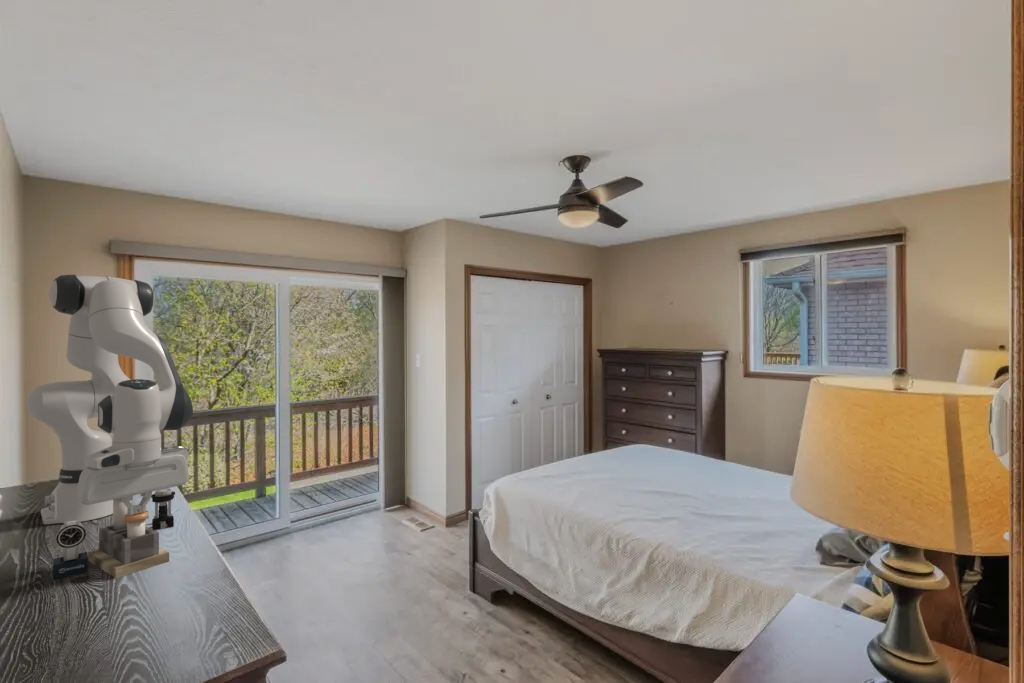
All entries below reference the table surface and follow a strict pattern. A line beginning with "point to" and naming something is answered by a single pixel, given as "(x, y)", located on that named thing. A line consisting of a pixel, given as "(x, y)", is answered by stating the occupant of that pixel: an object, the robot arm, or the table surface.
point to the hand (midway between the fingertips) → (136, 513)
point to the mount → (127, 551)
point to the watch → (70, 551)
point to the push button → (162, 509)
